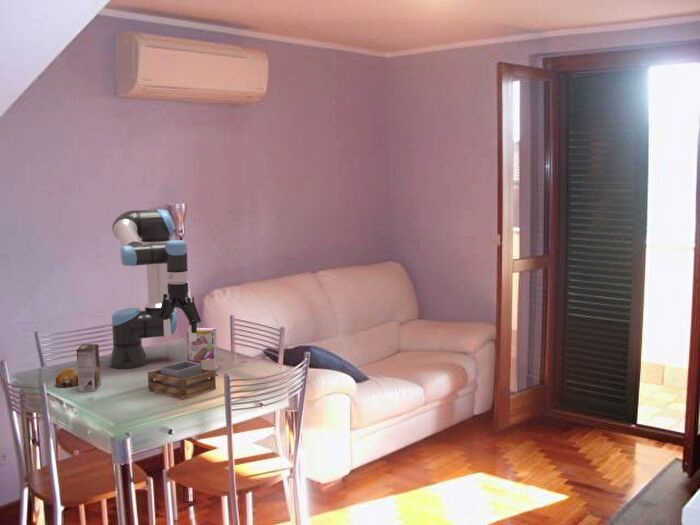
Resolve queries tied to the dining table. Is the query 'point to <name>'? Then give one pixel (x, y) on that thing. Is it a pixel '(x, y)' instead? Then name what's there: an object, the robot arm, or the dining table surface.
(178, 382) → the crate big
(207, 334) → the candy bar box
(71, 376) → the bread roll
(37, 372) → the dining table surface
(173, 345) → the dining table surface
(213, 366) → the architectural model
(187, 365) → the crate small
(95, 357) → the coffee box
